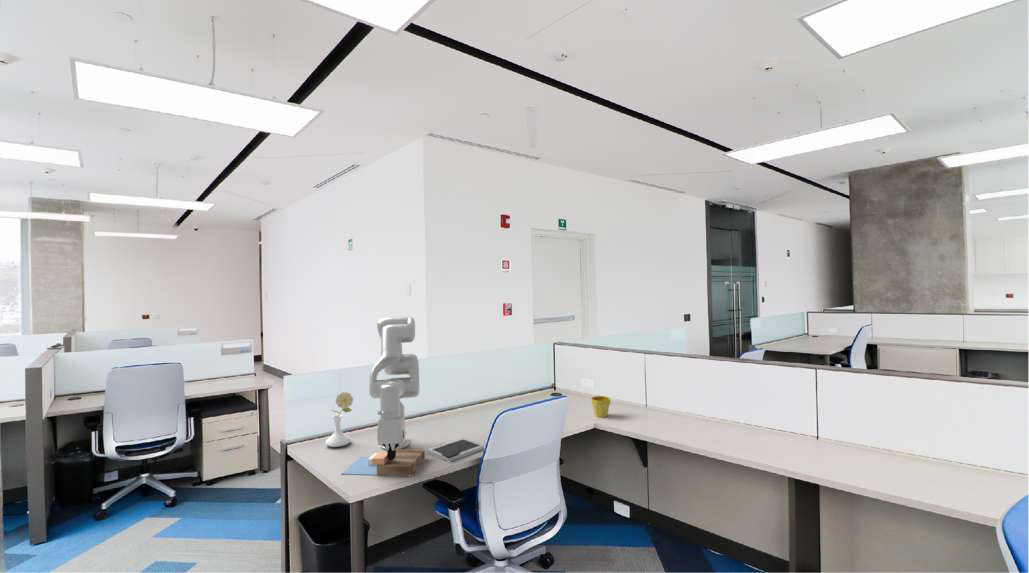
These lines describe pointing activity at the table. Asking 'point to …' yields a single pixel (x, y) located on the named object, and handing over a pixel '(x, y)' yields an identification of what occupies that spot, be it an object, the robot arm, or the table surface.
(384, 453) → the orange rectangular block
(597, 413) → the plant pot
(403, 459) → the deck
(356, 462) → the mat
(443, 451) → the picture frame
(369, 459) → the white rectangular block
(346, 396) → the flower in vase
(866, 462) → the table surface
